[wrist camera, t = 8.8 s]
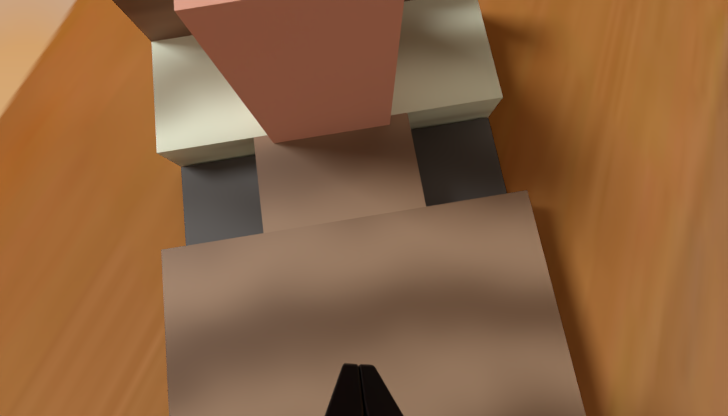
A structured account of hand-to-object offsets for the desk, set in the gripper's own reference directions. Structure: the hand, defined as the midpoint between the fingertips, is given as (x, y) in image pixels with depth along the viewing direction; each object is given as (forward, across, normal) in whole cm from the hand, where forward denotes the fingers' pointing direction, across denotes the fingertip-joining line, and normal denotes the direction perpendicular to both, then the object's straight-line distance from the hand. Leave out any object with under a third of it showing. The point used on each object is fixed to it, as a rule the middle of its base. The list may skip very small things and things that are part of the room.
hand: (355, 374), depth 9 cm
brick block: (+13, +2, -6) cm, 15 cm away
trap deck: (+11, 0, 0) cm, 11 cm away
